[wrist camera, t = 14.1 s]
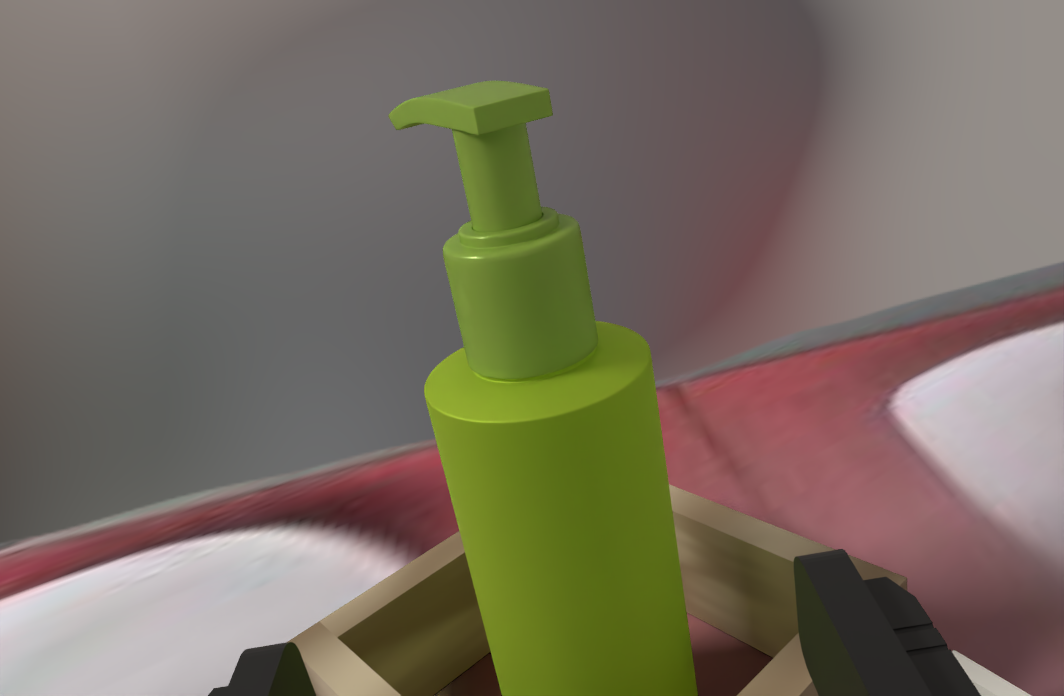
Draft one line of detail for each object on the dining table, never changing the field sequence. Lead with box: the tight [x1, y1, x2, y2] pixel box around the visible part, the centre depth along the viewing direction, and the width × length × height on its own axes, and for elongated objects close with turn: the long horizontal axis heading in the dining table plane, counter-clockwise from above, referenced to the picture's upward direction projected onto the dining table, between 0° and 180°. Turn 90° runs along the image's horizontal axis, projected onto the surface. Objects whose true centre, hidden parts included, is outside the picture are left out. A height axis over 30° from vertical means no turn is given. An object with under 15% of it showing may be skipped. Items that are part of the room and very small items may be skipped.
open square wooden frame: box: [288, 485, 907, 696], centre depth 26 cm, size 13×13×4 cm
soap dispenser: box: [389, 81, 698, 696], centre depth 23 cm, size 6×7×20 cm
